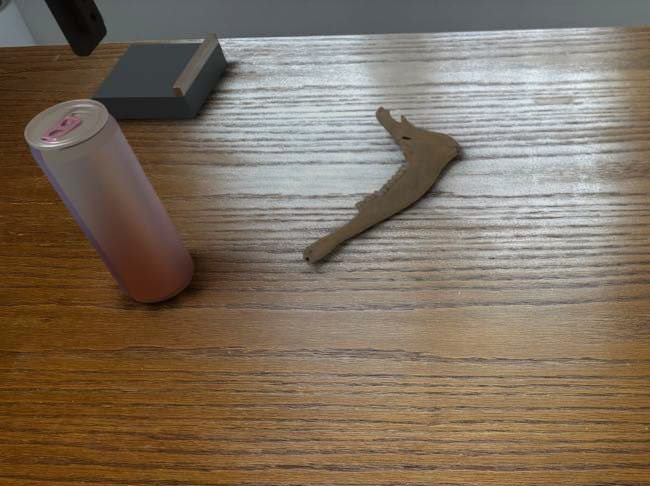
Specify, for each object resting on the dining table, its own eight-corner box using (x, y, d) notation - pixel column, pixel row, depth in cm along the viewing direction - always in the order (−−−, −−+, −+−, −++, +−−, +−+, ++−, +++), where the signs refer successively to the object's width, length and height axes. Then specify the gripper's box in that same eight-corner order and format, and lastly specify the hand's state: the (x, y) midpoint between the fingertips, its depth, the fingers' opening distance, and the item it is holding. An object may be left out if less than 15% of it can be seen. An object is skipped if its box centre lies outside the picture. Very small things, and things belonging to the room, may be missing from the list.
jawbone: (472, 133, 79) (470, 114, 78) (407, 286, 68) (404, 268, 66) (380, 121, 81) (377, 102, 79) (302, 270, 69) (296, 251, 67)
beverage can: (109, 296, 69) (2, 139, 57) (156, 249, 72) (63, 91, 60) (166, 314, 67) (66, 155, 55) (212, 265, 70) (127, 104, 58)
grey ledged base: (102, 119, 86) (85, 88, 83) (141, 65, 92) (126, 34, 89) (194, 118, 84) (179, 86, 81) (228, 64, 90) (215, 32, 87)
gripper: (-397, -254, 39) (-131, 83, 52) (-67, -287, 36) (124, 77, 50) (-282, -300, 44) (-65, 22, 57) (18, -331, 41) (172, 13, 54)
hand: (23, 47), depth 53 cm, fingers open, 9 cm apart
